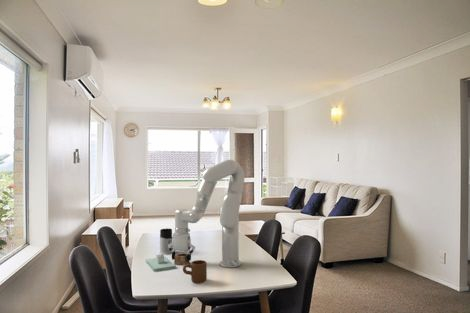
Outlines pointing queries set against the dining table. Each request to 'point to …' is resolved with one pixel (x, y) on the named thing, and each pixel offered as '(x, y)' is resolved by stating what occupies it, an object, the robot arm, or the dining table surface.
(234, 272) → the dining table surface
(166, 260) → the base board
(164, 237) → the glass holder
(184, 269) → the mug
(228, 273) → the dining table surface
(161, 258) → the white plaster cube
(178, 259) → the walnut collar
